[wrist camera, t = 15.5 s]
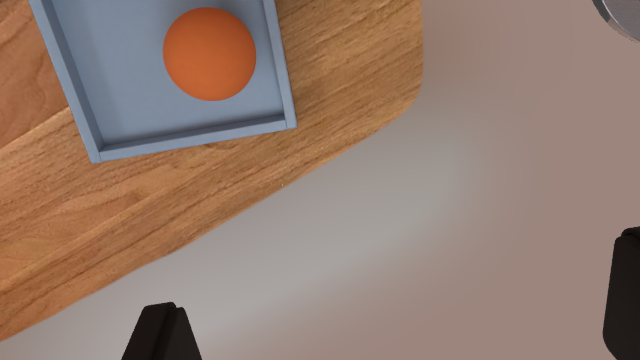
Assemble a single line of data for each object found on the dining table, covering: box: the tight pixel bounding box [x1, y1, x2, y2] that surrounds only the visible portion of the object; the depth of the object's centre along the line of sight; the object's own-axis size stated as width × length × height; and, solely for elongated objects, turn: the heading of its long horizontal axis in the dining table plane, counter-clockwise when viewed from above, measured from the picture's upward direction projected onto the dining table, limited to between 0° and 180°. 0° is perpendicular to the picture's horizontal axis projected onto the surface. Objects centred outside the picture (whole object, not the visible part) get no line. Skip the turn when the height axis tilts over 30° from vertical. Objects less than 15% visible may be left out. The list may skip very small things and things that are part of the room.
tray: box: [28, 0, 298, 164], centre depth 33 cm, size 16×13×2 cm
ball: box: [163, 7, 256, 101], centre depth 31 cm, size 6×6×6 cm
